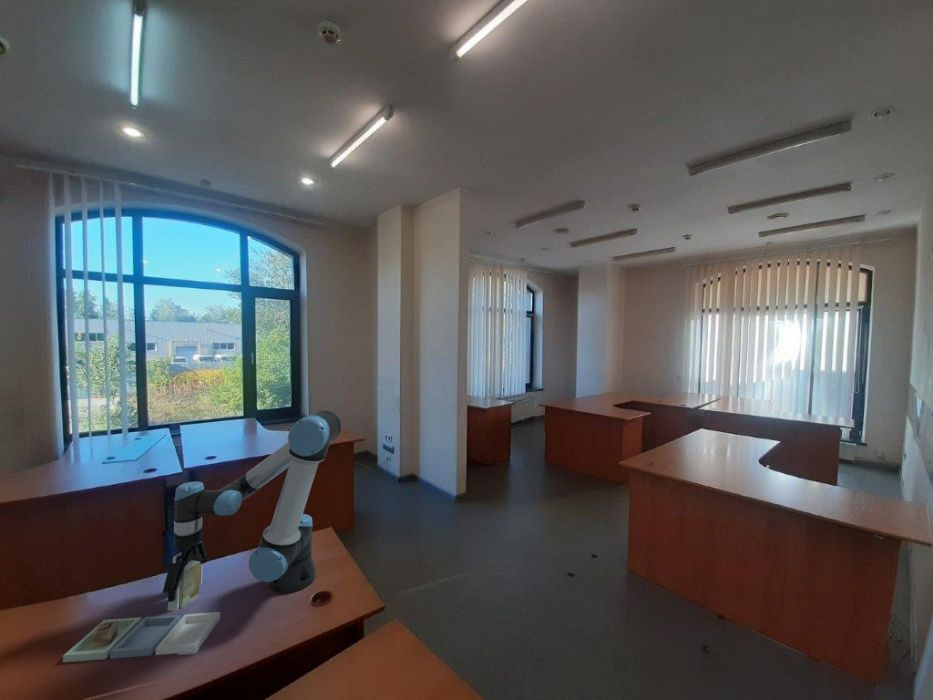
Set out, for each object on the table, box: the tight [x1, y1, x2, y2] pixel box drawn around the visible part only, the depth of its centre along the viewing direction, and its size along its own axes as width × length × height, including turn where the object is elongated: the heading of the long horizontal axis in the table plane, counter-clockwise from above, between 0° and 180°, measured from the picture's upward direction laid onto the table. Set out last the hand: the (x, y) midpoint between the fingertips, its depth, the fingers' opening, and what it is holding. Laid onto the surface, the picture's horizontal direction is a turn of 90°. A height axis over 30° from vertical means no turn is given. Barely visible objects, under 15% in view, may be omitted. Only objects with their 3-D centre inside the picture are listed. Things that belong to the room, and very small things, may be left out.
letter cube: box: [92, 621, 118, 649], centre depth 104 cm, size 4×4×4 cm
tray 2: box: [109, 614, 182, 660], centre depth 106 cm, size 10×13×2 cm
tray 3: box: [155, 611, 221, 656], centre depth 107 cm, size 10×13×2 cm
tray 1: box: [62, 616, 142, 663], centre depth 104 cm, size 10×13×2 cm
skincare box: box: [178, 559, 200, 609], centre depth 122 cm, size 6×4×12 cm
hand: (185, 596), depth 122 cm, fingers open, 12 cm apart
